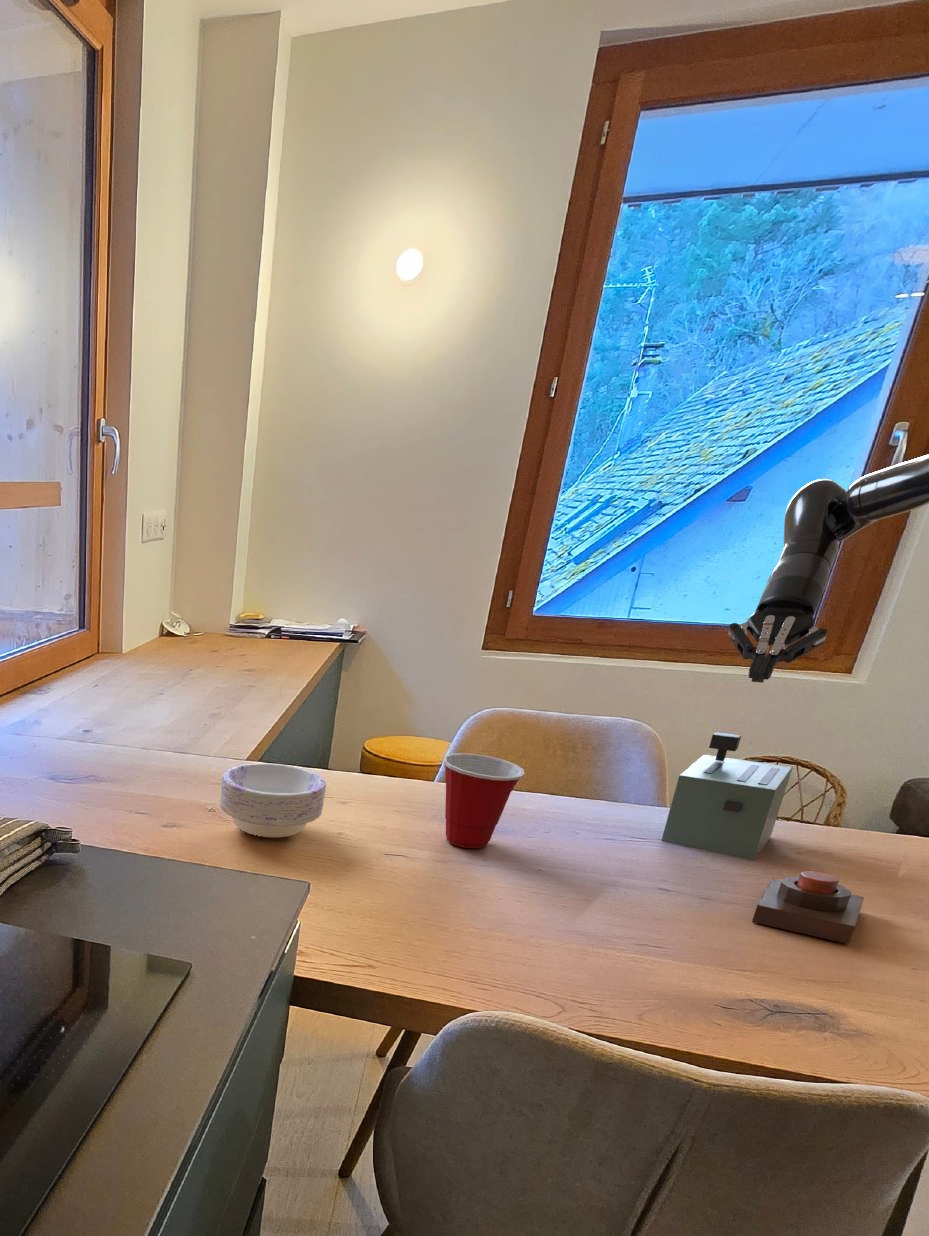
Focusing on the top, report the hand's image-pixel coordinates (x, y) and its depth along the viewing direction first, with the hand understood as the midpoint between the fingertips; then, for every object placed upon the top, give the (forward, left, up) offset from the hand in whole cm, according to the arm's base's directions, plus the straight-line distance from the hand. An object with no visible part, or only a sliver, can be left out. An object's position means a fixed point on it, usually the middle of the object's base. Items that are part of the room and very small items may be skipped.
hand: (757, 678), depth 142 cm
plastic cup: (+50, +1, -21) cm, 54 cm away
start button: (+30, +36, -18) cm, 50 cm away
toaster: (+15, +12, -21) cm, 29 cm away
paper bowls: (+75, -13, -21) cm, 79 cm away
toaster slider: (+13, +8, -10) cm, 18 cm away
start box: (+30, +36, -21) cm, 51 cm away
